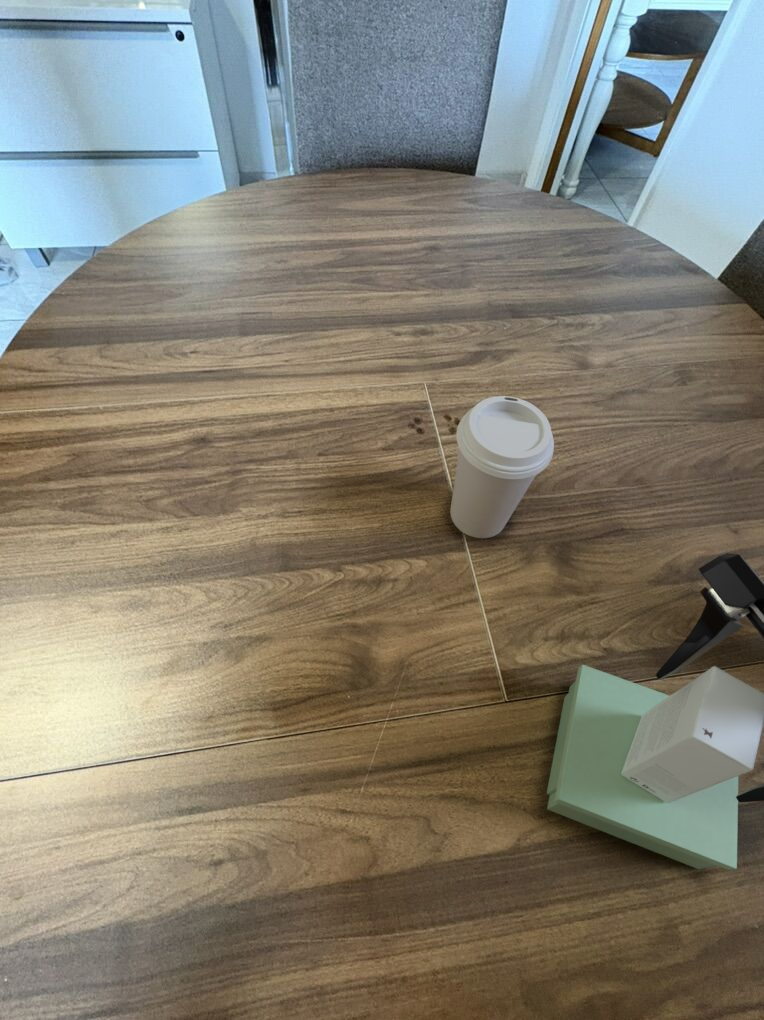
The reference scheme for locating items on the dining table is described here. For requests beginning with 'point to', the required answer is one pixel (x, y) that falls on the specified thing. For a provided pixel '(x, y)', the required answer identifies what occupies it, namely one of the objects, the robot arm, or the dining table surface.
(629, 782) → the stand
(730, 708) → the cosmetic box
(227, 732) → the dining table surface
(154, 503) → the dining table surface
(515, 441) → the coffee cup
